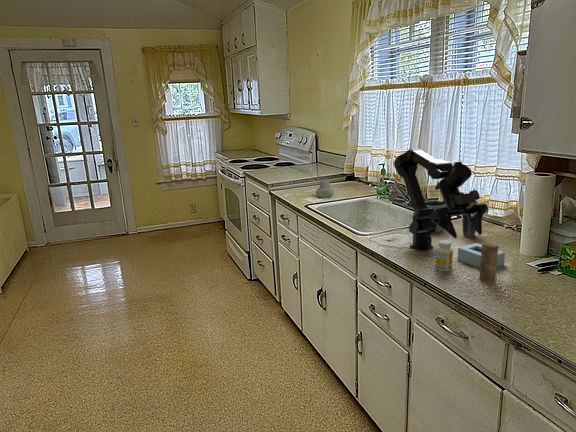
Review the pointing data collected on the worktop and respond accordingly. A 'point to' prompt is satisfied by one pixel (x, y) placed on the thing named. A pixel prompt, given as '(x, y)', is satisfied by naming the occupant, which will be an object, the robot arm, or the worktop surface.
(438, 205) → the blue-grey round container
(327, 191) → the air freshener
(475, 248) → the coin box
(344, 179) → the worktop surface
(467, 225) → the beverage cup
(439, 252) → the supplement bottle
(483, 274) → the wooden block
